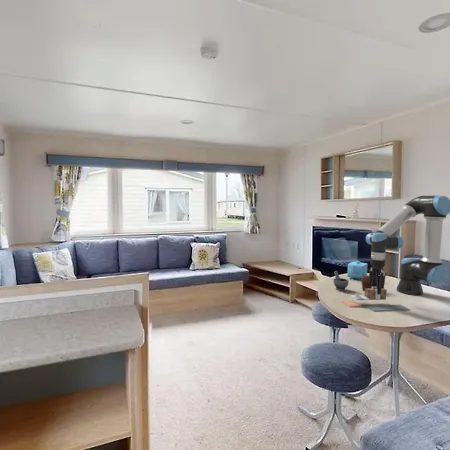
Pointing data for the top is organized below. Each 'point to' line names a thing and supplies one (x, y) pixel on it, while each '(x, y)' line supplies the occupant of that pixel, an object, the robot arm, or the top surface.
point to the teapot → (357, 270)
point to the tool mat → (387, 307)
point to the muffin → (366, 283)
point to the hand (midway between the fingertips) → (375, 298)
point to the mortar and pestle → (340, 282)
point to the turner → (370, 294)
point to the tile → (351, 303)
